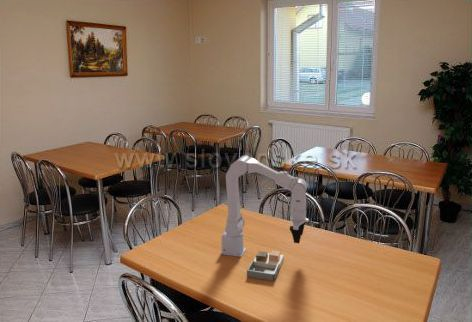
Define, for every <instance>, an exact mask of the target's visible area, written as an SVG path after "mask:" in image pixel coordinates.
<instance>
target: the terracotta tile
mask: <svg viewBox="0 0 472 322" xmlns="http://www.w3.org/2000/svg"><path fill="white" fill-rule="evenodd" d="M269 253H270V254H269V260H271V261H279V259H280V255H281V251H279V250H278V251H277V250H270V251H269Z"/></svg>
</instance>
